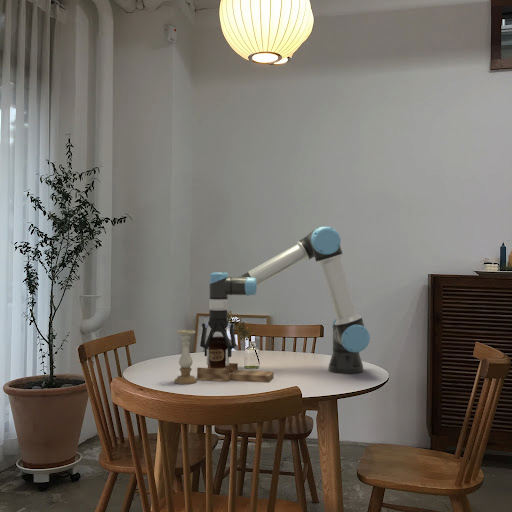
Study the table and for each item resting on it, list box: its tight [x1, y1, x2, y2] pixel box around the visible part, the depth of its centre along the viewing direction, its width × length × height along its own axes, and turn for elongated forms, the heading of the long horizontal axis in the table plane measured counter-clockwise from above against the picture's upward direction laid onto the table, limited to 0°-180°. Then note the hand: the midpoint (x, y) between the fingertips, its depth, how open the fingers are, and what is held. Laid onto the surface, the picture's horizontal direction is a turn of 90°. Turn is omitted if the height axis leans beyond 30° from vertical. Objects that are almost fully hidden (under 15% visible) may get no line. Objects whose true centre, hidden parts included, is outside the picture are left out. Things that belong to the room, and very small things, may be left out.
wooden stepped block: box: [196, 362, 275, 383], centre depth 237 cm, size 29×15×5 cm, turn 77°
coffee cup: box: [209, 336, 228, 369], centre depth 239 cm, size 9×8×13 cm
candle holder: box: [174, 329, 198, 385], centre depth 229 cm, size 9×9×20 cm
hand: (217, 364), depth 239 cm, fingers closed on coffee cup, 7 cm apart
